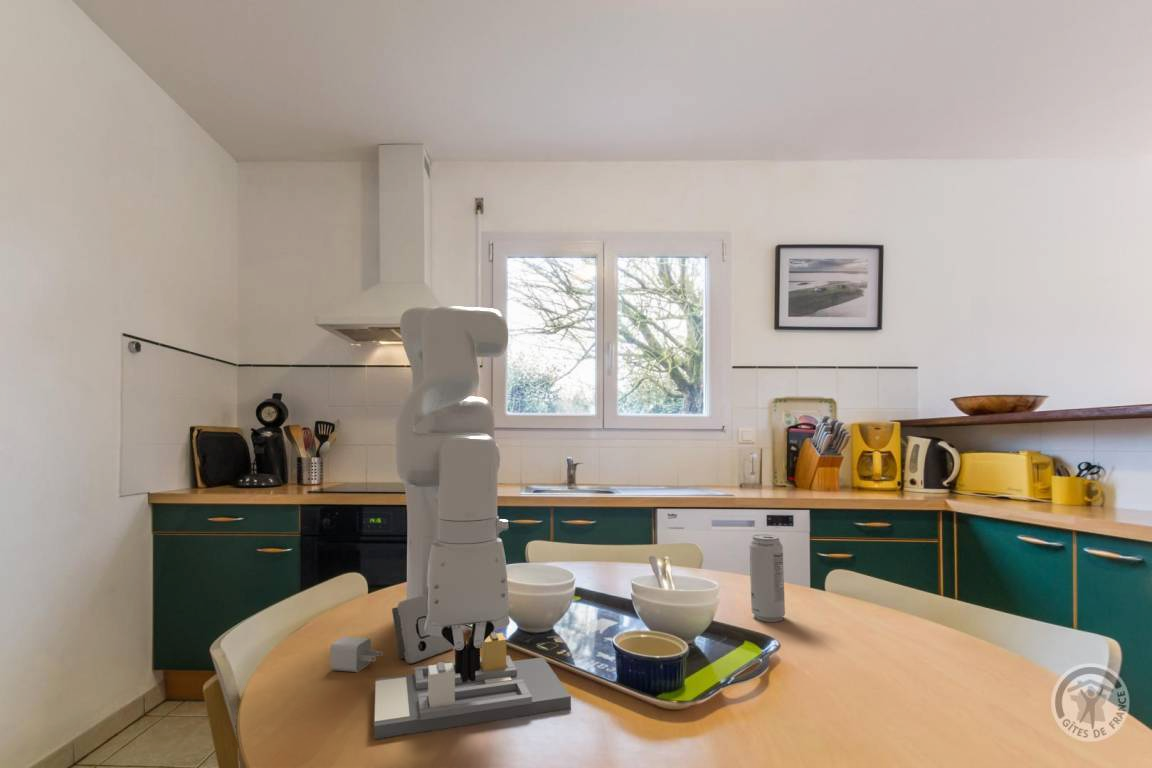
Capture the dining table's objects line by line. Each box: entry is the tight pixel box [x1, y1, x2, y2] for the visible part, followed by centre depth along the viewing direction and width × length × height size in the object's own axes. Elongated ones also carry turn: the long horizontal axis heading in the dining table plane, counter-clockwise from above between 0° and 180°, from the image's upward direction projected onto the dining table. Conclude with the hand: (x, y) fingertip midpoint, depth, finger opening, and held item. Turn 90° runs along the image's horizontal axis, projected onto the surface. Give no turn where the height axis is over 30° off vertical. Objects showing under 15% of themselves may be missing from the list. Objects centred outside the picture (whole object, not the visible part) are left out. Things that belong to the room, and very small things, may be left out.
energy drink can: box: [749, 534, 786, 623], centre depth 114 cm, size 6×6×15 cm
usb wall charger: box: [329, 636, 384, 673], centre depth 92 cm, size 4×7×4 cm, turn 78°
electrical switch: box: [391, 595, 455, 665], centre depth 98 cm, size 9×5×9 cm, turn 141°
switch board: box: [373, 655, 572, 740], centre depth 81 cm, size 15×24×2 cm, turn 108°
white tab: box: [427, 661, 455, 708], centre depth 75 cm, size 3×3×5 cm
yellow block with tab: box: [481, 631, 507, 671], centre depth 86 cm, size 3×3×5 cm
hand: (467, 677), depth 77 cm, fingers closed
